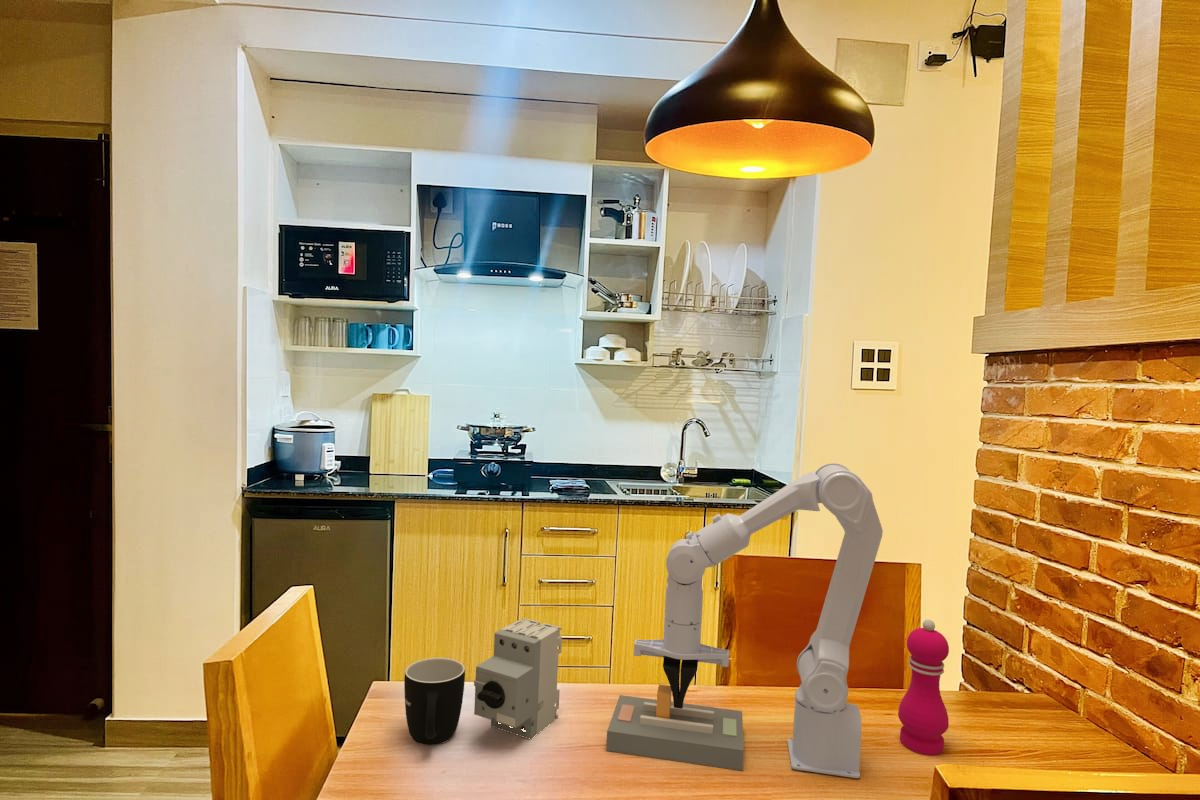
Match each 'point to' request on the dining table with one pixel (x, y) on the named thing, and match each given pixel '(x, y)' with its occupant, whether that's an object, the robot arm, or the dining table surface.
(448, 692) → the mug
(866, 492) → the robot arm
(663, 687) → the breaker lever
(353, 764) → the dining table surface
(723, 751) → the slider control box
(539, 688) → the circuit breaker
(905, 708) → the pepper mill
